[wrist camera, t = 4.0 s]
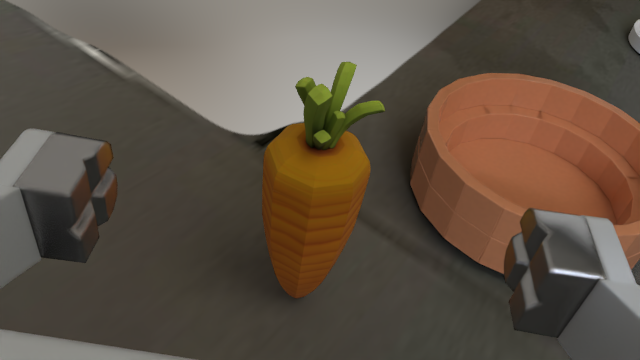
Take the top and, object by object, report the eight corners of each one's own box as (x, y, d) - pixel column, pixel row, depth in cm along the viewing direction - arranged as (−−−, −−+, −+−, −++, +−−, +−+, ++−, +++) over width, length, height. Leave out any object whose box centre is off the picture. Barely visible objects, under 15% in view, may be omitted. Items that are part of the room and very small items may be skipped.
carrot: (303, 248, 36) (338, 30, 26) (356, 304, 34) (417, 85, 24) (235, 285, 33) (246, 58, 23) (287, 347, 31) (324, 122, 21)
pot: (373, 224, 38) (390, 161, 35) (447, 106, 50) (465, 49, 46) (630, 338, 34) (680, 280, 30) (645, 180, 46) (683, 124, 42)
